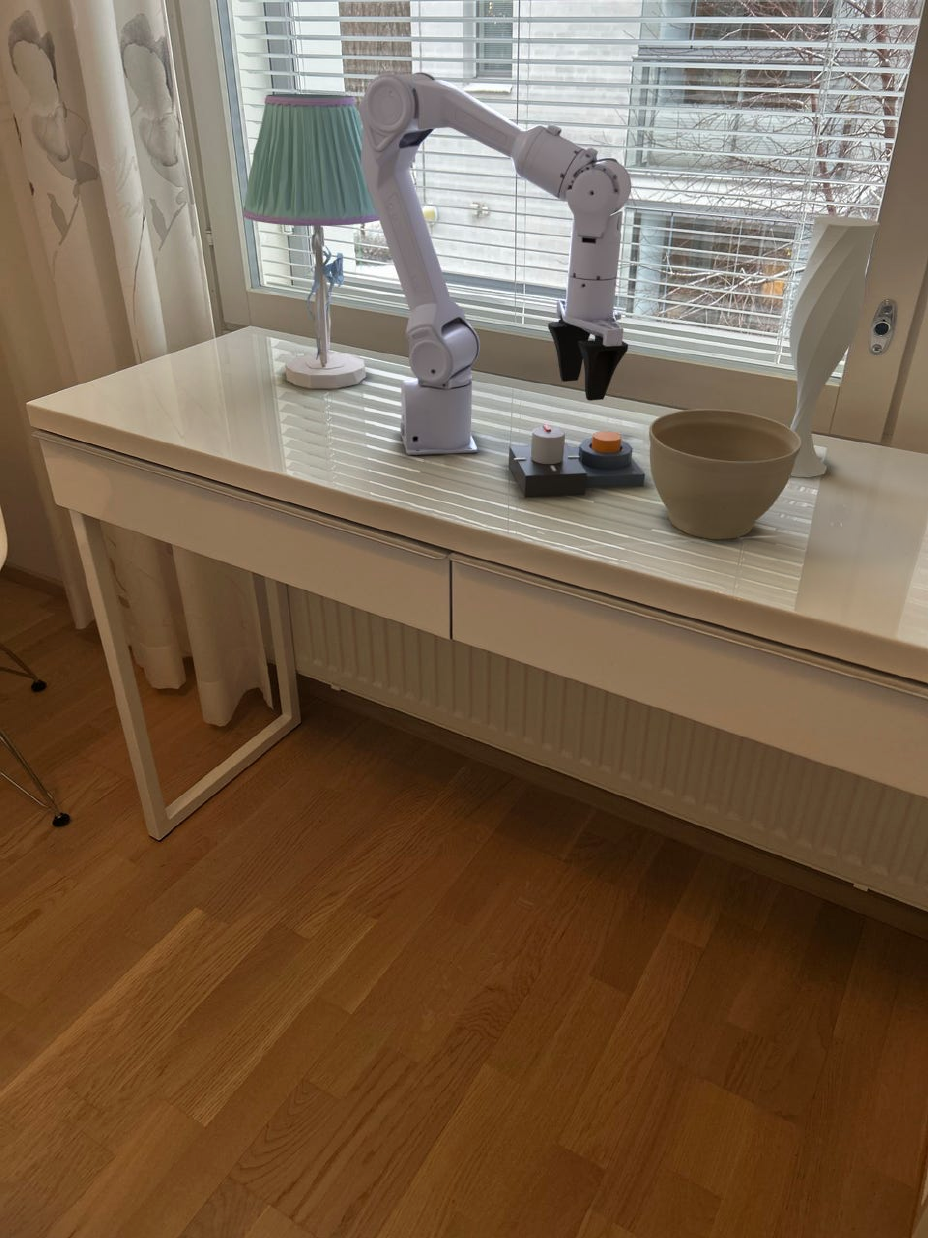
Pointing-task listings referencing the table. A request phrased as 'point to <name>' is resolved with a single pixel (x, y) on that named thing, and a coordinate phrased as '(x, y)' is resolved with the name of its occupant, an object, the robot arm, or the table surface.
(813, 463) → the vase
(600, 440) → the button
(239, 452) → the table surface
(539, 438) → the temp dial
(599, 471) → the button base
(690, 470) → the planter bowl
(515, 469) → the dial panel
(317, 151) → the table lamp
